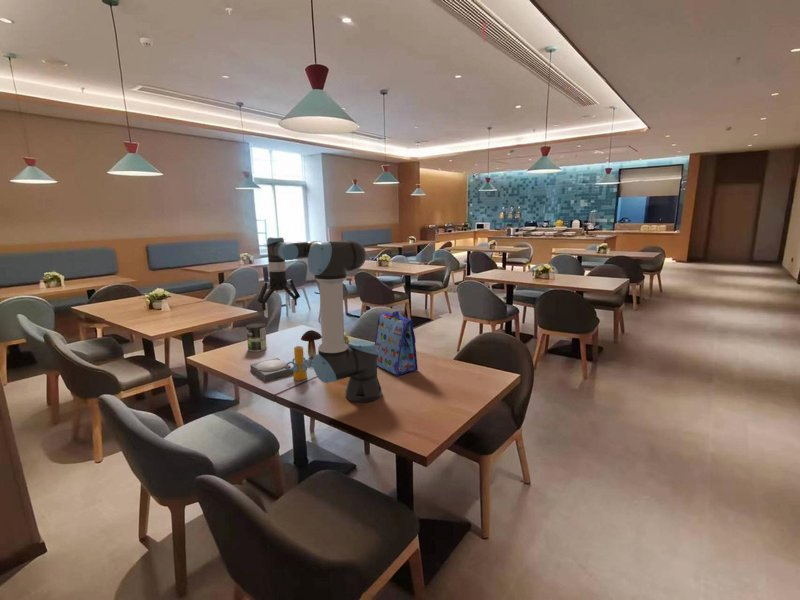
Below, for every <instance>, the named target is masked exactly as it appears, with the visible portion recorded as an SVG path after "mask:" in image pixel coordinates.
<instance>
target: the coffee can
mask: <svg viewBox="0 0 800 600" xmlns="http://www.w3.org/2000/svg"><path fill="white" fill-rule="evenodd" d="M245 327H246V328H245V329H246V337H247V338H246V339H247V351H249V352H254V353H257V352H262V351H265V350H266V349H268V346H267V333H266V332H267V331H266V323H263V322H253V323H249V324H246V326H245Z"/></svg>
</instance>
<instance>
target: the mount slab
mask: <svg viewBox="0 0 800 600" xmlns="http://www.w3.org/2000/svg"><path fill="white" fill-rule="evenodd" d="M287 363H288V362H286V361H285V360H282V359H280V358H279V357H275V358H272V359H268V360H264V361H259V362H254V363H250V364H249V365H250V371H251V372H252V373H254V374H255V375H256V376H258V377H259V378H260V379H261V380H263V381H264V382H267V381H271V380H276V379H278V378H282V377H286V376H291V375H293V370H288V369H287V368H286V364H287ZM288 368H289V369H292V368H293V366H291V365H290V364H288Z"/></svg>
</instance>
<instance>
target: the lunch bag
mask: <svg viewBox="0 0 800 600" xmlns="http://www.w3.org/2000/svg"><path fill="white" fill-rule="evenodd" d="M376 324H377V325H376V331H375V333H376V334H375V340H374V344H375V345H376V349H377V367H378V368H380V369H381V368H382V369H383V370H385V371H387V372H388V373H391V374H392V375H394V376H396V377H400V376H401V375H403V374H407V372H417V371H418V370H419V367H418V357H417V350H416V349H417V348H416V335H415V330H414V325H413V319H412V318H407V317H404V316H402V315H400V314H399V310H394V311H392V313H390V312H385V311H384V312H383V311H382V312H380V314H379V315H378V319H377V323H376Z"/></svg>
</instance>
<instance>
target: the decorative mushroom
mask: <svg viewBox="0 0 800 600" xmlns="http://www.w3.org/2000/svg"><path fill="white" fill-rule="evenodd" d="M320 339H321V340H322V334H320V333H319V332H318V331H316V330H313V329H311V330H307V331H306V332H304V333H303V334H302V336H300V340H301V341H303V342H308V343H307V355H308V357H309V358H313V357H314V356H315V355H316V353H317V350H316V342H315V341H318V340H320Z"/></svg>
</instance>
